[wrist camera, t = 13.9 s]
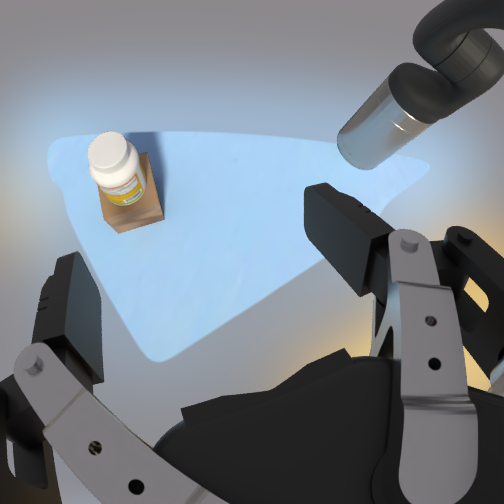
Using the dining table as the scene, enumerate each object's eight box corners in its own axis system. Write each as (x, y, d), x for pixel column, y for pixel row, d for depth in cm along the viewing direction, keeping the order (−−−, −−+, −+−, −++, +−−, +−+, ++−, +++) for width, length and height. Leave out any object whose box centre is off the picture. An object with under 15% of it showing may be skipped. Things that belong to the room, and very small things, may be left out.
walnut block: (153, 176, 43) (146, 152, 36) (164, 219, 43) (158, 202, 35) (109, 189, 42) (95, 168, 34) (118, 233, 41) (103, 219, 33)
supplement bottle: (113, 161, 34) (93, 121, 25) (152, 169, 35) (142, 128, 26) (99, 201, 33) (72, 169, 24) (139, 210, 34) (122, 180, 25)
